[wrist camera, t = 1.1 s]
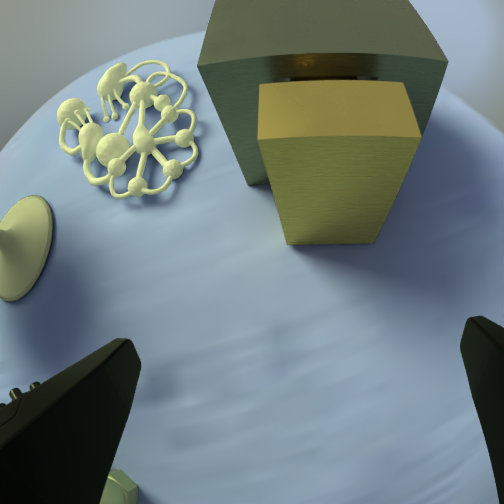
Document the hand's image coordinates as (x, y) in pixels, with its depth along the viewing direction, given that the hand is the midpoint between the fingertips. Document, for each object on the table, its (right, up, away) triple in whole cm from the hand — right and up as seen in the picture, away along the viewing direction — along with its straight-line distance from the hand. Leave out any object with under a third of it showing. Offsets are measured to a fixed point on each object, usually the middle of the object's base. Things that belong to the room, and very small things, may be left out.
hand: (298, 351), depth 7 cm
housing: (+5, +12, +17) cm, 22 cm away
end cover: (+4, +8, +15) cm, 18 cm away
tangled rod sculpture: (-13, +15, +22) cm, 30 cm away
